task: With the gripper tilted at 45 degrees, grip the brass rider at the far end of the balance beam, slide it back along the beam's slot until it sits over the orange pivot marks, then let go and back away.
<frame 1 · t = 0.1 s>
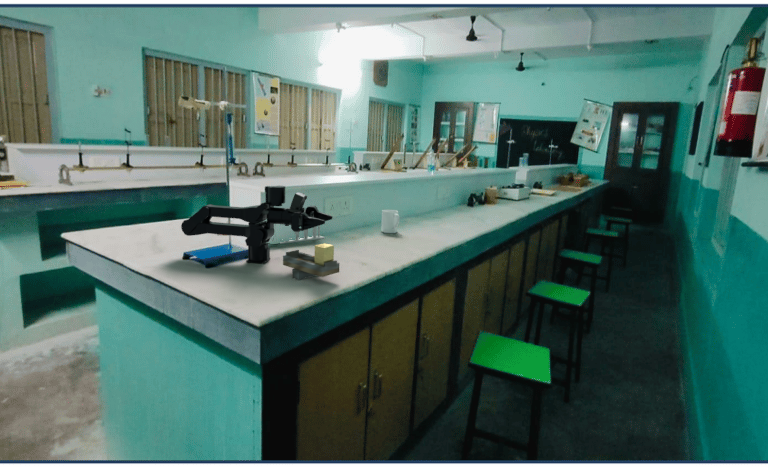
hand: (328, 219, 151), 17 cm above the worktop, tool horizontal, fingers open, 9 cm apart
test tube rack: (296, 241, 191), on the worktop
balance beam: (310, 277, 141), on the worktop
rider: (324, 256, 136), point 8 cm above the worktop, slide at 6.0 cm
mug: (391, 232, 218), on the worktop
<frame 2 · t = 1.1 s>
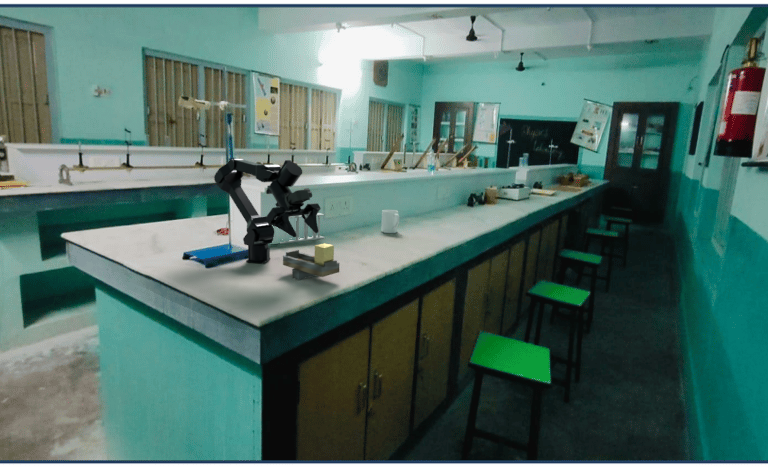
hand: (306, 234, 140), 14 cm above the worktop, tool tilted 45°, fingers open, 9 cm apart
nothing on the worktop moved.
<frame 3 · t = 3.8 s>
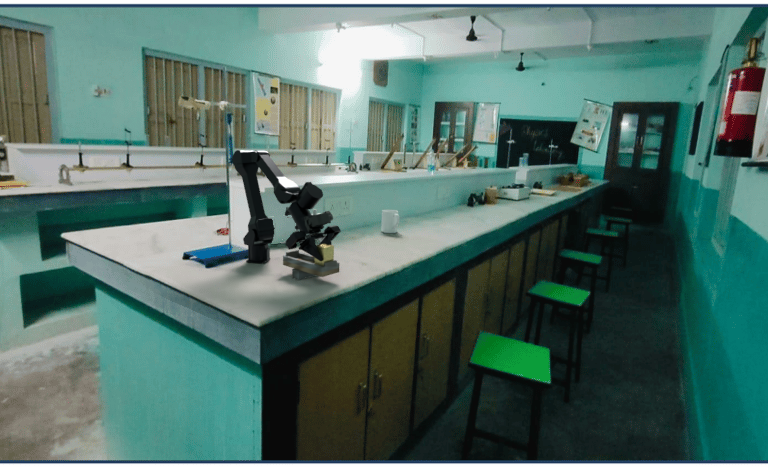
hand: (327, 259, 136), 8 cm above the worktop, tool tilted 45°, fingers closed on rider, 4 cm apart
rider: (324, 256, 136), point 8 cm above the worktop, slide at 6.0 cm, touching gripper
everything else where it was.
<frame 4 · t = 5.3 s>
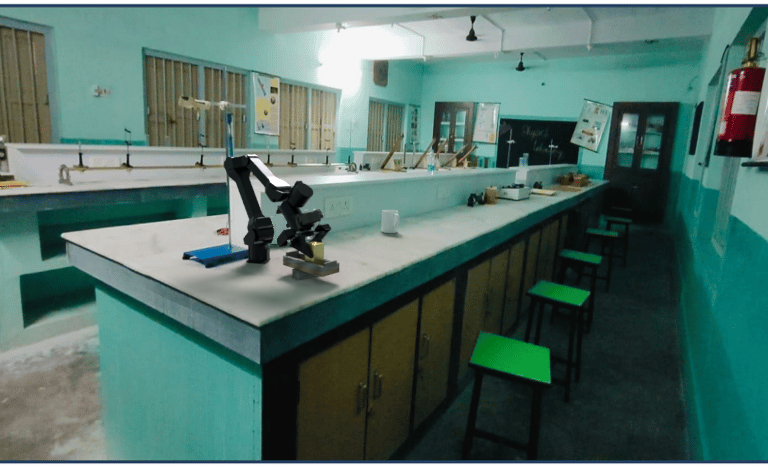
hand: (317, 256, 138), 8 cm above the worktop, tool tilted 45°, fingers closed on rider, 4 cm apart
rider: (314, 253, 139), point 8 cm above the worktop, slide at 1.7 cm, touching gripper
everything else where it was.
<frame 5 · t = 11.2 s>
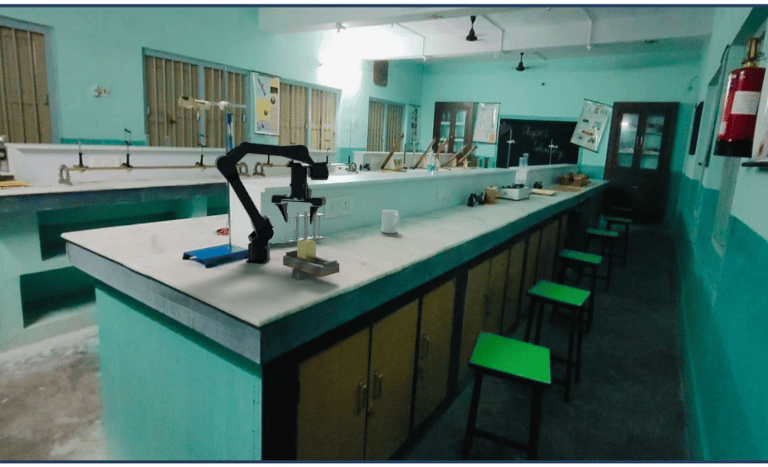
hand: (298, 223, 161), 13 cm above the worktop, tool pointing down, fingers open, 9 cm apart
rider: (306, 251, 141), point 8 cm above the worktop, slide at -2.0 cm
everything else where it was.
at the end: rider slide at -2.0 cm; the gripper is holding nothing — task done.
